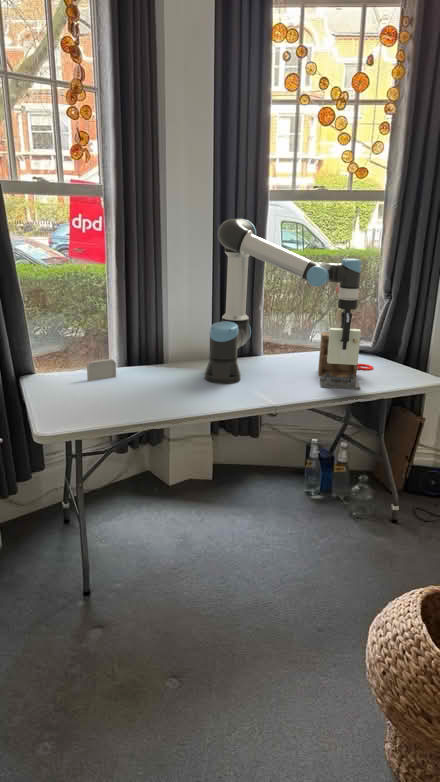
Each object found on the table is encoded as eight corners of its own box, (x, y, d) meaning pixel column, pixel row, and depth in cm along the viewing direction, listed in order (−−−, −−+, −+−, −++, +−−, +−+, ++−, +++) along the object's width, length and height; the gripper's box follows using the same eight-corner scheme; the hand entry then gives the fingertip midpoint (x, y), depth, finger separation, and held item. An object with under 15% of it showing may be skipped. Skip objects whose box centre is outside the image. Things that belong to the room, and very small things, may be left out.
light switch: (116, 377, 239) (115, 359, 236) (89, 381, 232) (88, 362, 230) (114, 376, 240) (114, 358, 238) (87, 380, 234) (86, 361, 231)
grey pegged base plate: (320, 387, 234) (321, 377, 233) (319, 380, 244) (320, 371, 242) (360, 389, 232) (361, 380, 231) (357, 382, 242) (358, 373, 241)
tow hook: (369, 366, 270) (350, 365, 269) (373, 339, 266) (354, 338, 265) (375, 371, 262) (355, 370, 261) (380, 344, 258) (360, 343, 257)
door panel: (327, 363, 233) (330, 330, 229) (327, 360, 238) (329, 327, 233) (357, 365, 232) (361, 331, 227) (356, 362, 236) (359, 329, 232)
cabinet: (318, 375, 250) (322, 335, 245) (318, 370, 258) (321, 331, 252) (355, 378, 249) (360, 337, 243) (354, 373, 256) (358, 333, 250)
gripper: (360, 302, 218) (354, 361, 226) (355, 295, 235) (350, 351, 242) (340, 301, 219) (334, 360, 226) (337, 295, 235) (332, 350, 243)
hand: (342, 355), depth 234 cm, fingers closed on door panel, 4 cm apart
